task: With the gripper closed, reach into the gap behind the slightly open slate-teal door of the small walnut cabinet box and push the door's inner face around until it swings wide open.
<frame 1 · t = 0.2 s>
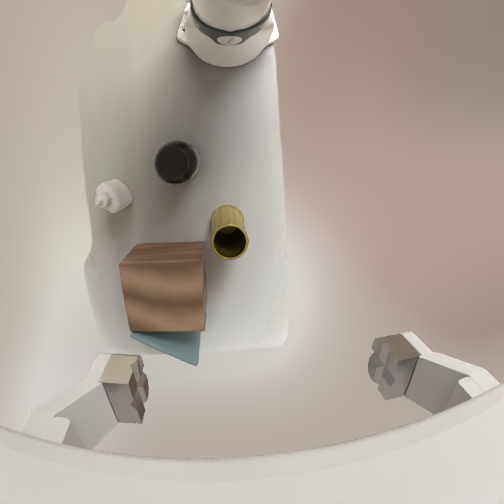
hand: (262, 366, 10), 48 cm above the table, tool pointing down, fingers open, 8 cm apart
supplement bottle: (182, 162, 52), on the table
cabinet box: (172, 272, 58), on the table
eye dropper bottle: (121, 192, 53), on the table
door: (166, 335, 55), point 6 cm above the table, hinge at 30.0°
vase: (227, 221, 57), on the table
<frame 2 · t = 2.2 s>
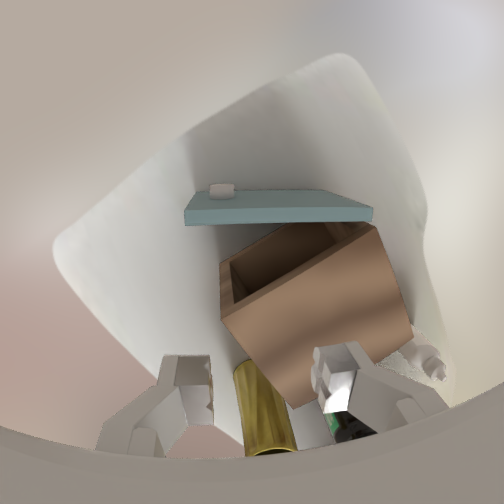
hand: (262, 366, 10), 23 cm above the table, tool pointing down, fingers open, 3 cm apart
supplement bottle: (338, 392, 41), on the table
cabinet box: (297, 276, 34), on the table
eye dropper bottle: (398, 329, 39), on the table
door: (270, 196, 25), point 6 cm above the table, hinge at 30.0°
vase: (256, 374, 38), on the table
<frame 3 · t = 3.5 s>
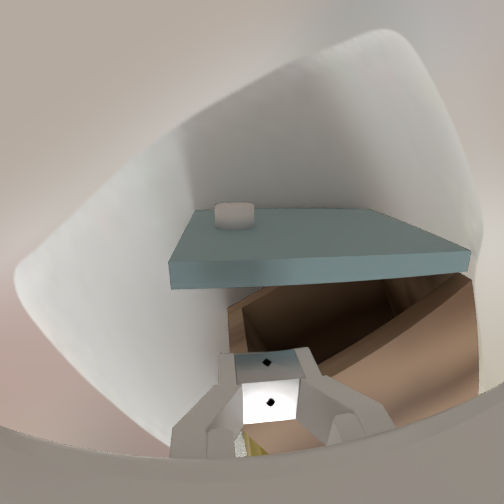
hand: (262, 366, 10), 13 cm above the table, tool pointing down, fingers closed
cabinet box: (329, 322, 25), on the table
door: (310, 223, 16), point 6 cm above the table, hinge at 30.0°
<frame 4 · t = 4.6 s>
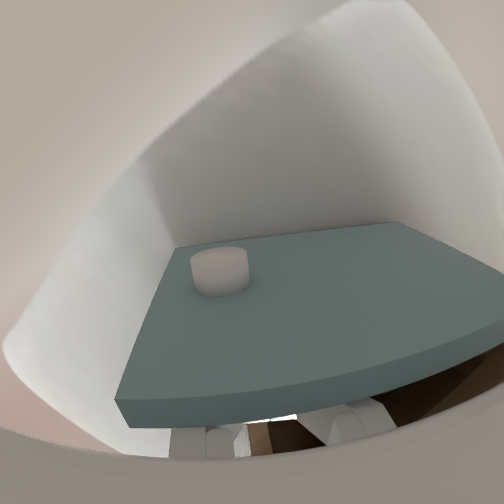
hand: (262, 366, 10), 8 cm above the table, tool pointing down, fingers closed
cabinet box: (360, 355, 21), on the table
door: (329, 268, 11), point 6 cm above the table, hinge at 33.9°, touching gripper
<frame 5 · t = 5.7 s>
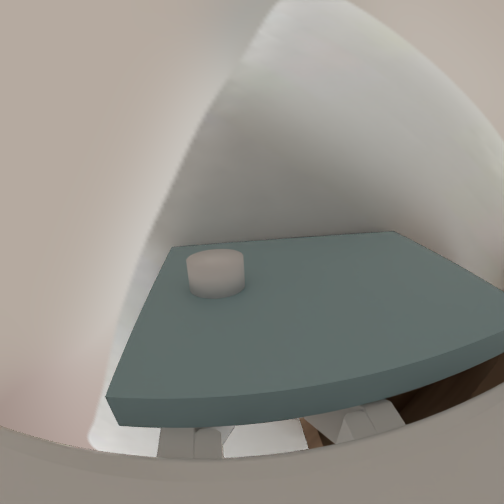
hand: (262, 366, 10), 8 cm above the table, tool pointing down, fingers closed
cabinet box: (397, 350, 21), on the table
door: (324, 275, 11), point 6 cm above the table, hinge at 58.2°, touching gripper
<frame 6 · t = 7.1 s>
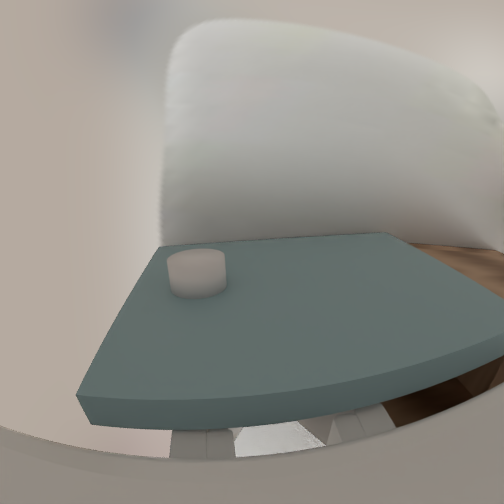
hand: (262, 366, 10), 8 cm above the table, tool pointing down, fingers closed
cabinet box: (432, 325, 20), on the table
door: (309, 276, 11), point 6 cm above the table, hinge at 83.2°
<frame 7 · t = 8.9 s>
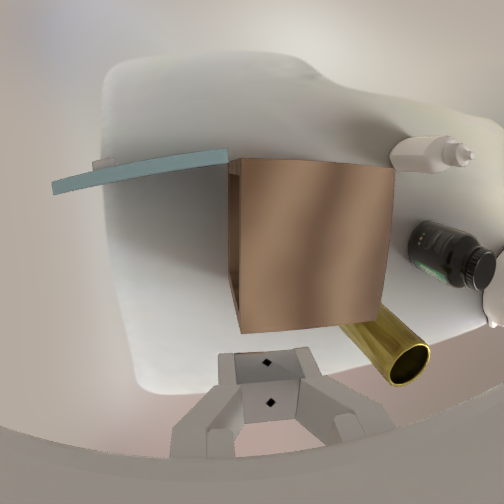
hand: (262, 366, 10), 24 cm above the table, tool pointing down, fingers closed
supplement bottle: (424, 244, 38), on the table
cabinet box: (282, 221, 34), on the table
eye dropper bottle: (403, 153, 34), on the table
door: (147, 163, 24), point 6 cm above the table, hinge at 83.2°
vase: (349, 304, 38), on the table
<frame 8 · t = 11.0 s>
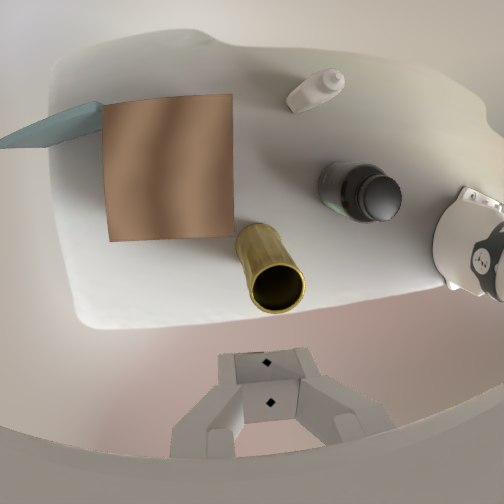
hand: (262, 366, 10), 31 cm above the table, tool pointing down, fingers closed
supplement bottle: (339, 186, 40), on the table
cabinet box: (181, 165, 37), on the table
eye dropper bottle: (304, 97, 36), on the table
door: (64, 123, 28), point 6 cm above the table, hinge at 83.2°
vase: (258, 245, 41), on the table
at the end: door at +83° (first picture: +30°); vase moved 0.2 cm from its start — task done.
